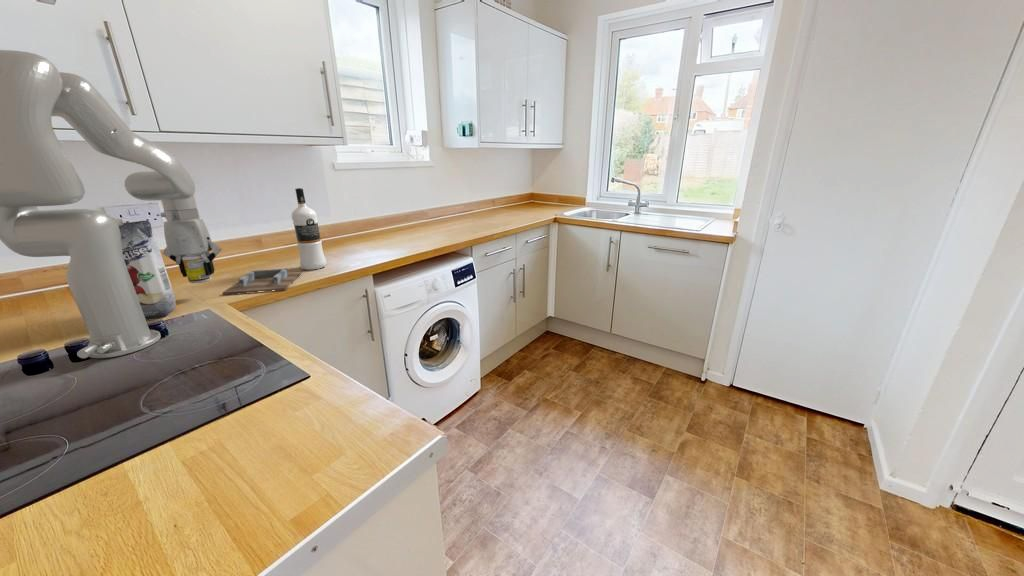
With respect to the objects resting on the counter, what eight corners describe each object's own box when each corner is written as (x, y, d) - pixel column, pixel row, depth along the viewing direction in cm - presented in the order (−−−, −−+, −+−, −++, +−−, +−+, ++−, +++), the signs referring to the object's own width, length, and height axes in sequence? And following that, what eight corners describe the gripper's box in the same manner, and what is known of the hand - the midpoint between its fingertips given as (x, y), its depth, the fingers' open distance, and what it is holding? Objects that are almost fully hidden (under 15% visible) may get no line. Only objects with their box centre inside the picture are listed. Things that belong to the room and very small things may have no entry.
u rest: (285, 290, 126) (282, 280, 125) (223, 295, 122) (220, 284, 121) (301, 274, 142) (300, 265, 141) (247, 278, 139) (245, 268, 138)
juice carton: (137, 312, 110) (102, 217, 101) (181, 306, 114) (151, 214, 105) (120, 324, 103) (80, 222, 94) (168, 318, 106) (135, 219, 97)
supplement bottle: (193, 279, 121) (185, 247, 118) (214, 278, 123) (206, 246, 120) (185, 284, 116) (175, 251, 113) (207, 282, 118) (198, 249, 115)
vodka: (322, 262, 157) (308, 186, 147) (330, 267, 151) (316, 188, 141) (297, 267, 151) (281, 188, 141) (305, 272, 145) (288, 190, 135)
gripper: (140, 218, 109) (159, 280, 114) (208, 215, 112) (224, 276, 117) (157, 215, 116) (174, 274, 121) (221, 213, 119) (235, 270, 124)
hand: (198, 274), depth 119 cm, fingers closed on supplement bottle, 5 cm apart
